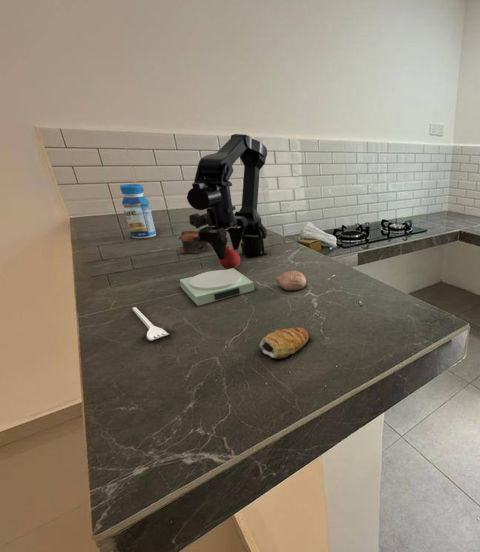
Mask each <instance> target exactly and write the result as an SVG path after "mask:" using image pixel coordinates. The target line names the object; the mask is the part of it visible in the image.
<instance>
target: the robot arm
mask: <svg viewBox="0 0 480 552" xmlns="http://www.w3.org/2000/svg"><path fill="white" fill-rule="evenodd" d="M267 156H268V149H267V147H266V145H264V144H263V143H262V142H261V141H259V140H257V139H254V138H252V137H251V136H250V135H247V134H245V133H244V134H243V133H233V134H232V135H230V138H229V139H228V140H227V141H226V142H225V143H224V144H223V145H222V147H221V148H219V150H217V152H215V153H214V152H213V153H210V154H206V155H204V156H203V157H201V158H200V159H199V161H198V164H197V168H196V172H195V176H194V179H193V183H192V184H191V185H192V187H191V188H190V189H189V190H188V191H187V196H186V199H187V202H188V204H189V205H190V207H192V208H193V209H195V210H196V211H204V210H206V213H203V214H199V213H197V212H196V213H193V214H190V215H188V218H189V224H190V226H192V227H195V229H199V228H200V229H199V230H197V231H198V232H197V233H198V238H199V240H203V241H206V242H208V244H209V245H210V246H211V247H212V249H213V251H214V252H215V254H216V256H217V257H218V260H219V259H220V260H223V259H224V256H225V251H226V247H227V246H228V245H227V244H228V239H229V238H230V241H231V245H232V246H231V247H232V249H233V250H235V251H239V247H240V248H241V254H242V255H244V256H245V257H246V258H254V257H259V256H260V257H261V256H265V255H268V253H267V252H266V251H265V244H264V239H267V236H268V233H267V232H268V230H267V229H266V227H265V226H264V225H263V223H262V218H261V216H260V214H259V212H258V202H259V201H258V200H259V199H258V198H259V188H260V187H259V185H260V174H261V173H260V172H261V170H262V168H263V167H264V166H265V164H266V161H267ZM238 159H240V161H241V163H242V164H243V180H242V193H241V194H242V195H241V208H240V209H239V210H238V211H235V210H237V209H236V205H233V202H232V195H231V194H232V193H231V187H232V186H233V183H232V182H231V181H230V178H231V177H232V175H233V173H234V167H233V166H234V164H235V163H236V162H237V160H238ZM234 211H235V212H234ZM203 226H204V227H203ZM201 227H202V228H201ZM227 234H228V235H229V237H227Z"/></svg>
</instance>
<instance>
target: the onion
mask: <svg viewBox="0 0 480 552" xmlns="http://www.w3.org/2000/svg"><path fill="white" fill-rule="evenodd" d="M218 261H219V264H220V265H221V267H223V268H224V269H225V270H227V269H231V268H234V269H236V268H238V267H239V265H240V263H241V256H240V254H239V253H238V252H237V250H234V249H233V248H232V246H231V245H226V251H225V256H224V259H223V260H220V259H219V258H218Z"/></svg>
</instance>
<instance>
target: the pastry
mask: <svg viewBox="0 0 480 552" xmlns="http://www.w3.org/2000/svg"><path fill="white" fill-rule="evenodd" d="M309 336H310V335H309V333H308V331H307V330H306V329H305V328H303V327H289V328H282V329H275V330H274V332H269V333H267V335H266V336H264V337H262V339H261V341H260V343H259V349H260V350H261V352H262V353H263V354H264V355H267V356H269V357H270V358H272V359H284V358H287V357H289V356H290V355H294V354H295V353H296V352H298V351H299V350H300V349H301V348H303V347H305V345H306V343H307V342H308V341H309Z"/></svg>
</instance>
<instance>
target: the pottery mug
mask: <svg viewBox="0 0 480 552" xmlns="http://www.w3.org/2000/svg"><path fill="white" fill-rule="evenodd" d="M198 231H199V230H183V231H182V232H181V235H180V236H179V238H178V240H179V241H181V243H182V246H180V247H179V251H180V254H198V250H200V251H204V250H205V249H206V247H207V246H208V244H209V243H208V242H206V241H203V240H199V238H198V233H197V232H198Z"/></svg>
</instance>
